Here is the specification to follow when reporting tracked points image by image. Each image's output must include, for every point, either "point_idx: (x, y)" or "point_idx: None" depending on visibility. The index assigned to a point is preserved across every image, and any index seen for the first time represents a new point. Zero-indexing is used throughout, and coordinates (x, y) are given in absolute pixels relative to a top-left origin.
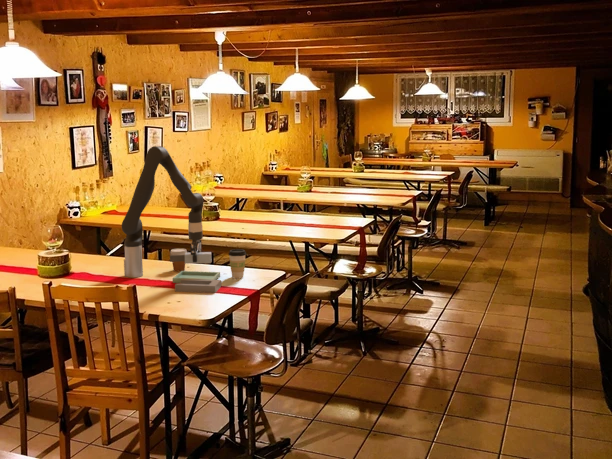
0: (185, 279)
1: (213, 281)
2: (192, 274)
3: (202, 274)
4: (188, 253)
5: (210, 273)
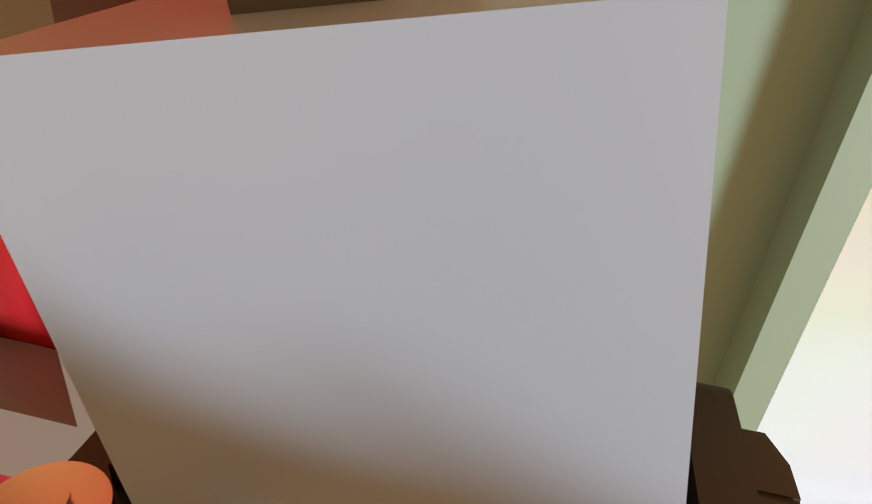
0: (9, 19)
1: (63, 438)
2: (863, 15)
3: (777, 237)
4: (313, 305)
5: (729, 382)
